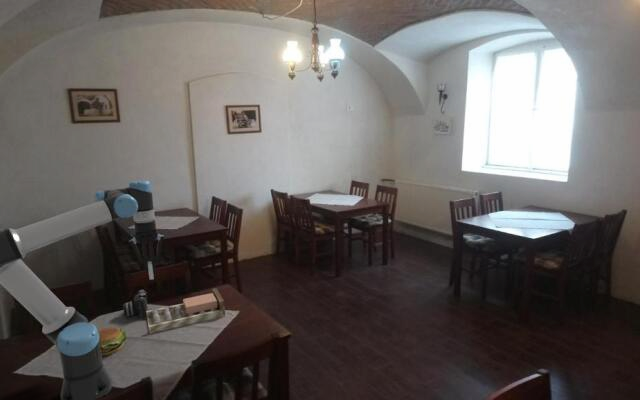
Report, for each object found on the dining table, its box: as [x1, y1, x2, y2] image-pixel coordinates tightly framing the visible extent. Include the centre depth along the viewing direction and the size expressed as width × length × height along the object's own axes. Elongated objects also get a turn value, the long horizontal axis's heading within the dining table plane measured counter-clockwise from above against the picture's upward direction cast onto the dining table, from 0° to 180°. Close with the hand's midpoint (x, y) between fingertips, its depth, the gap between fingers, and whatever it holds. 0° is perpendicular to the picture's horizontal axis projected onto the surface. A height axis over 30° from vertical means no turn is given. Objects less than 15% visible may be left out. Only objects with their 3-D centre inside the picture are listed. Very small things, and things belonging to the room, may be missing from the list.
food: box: [97, 326, 127, 356], centre depth 168 cm, size 14×14×8 cm
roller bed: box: [146, 287, 226, 335], centre depth 193 cm, size 33×17×8 cm, turn 116°
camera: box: [122, 289, 149, 319], centre depth 197 cm, size 14×11×10 cm
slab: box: [182, 292, 218, 314], centre depth 195 cm, size 14×10×4 cm
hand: (151, 278), depth 163 cm, fingers closed
